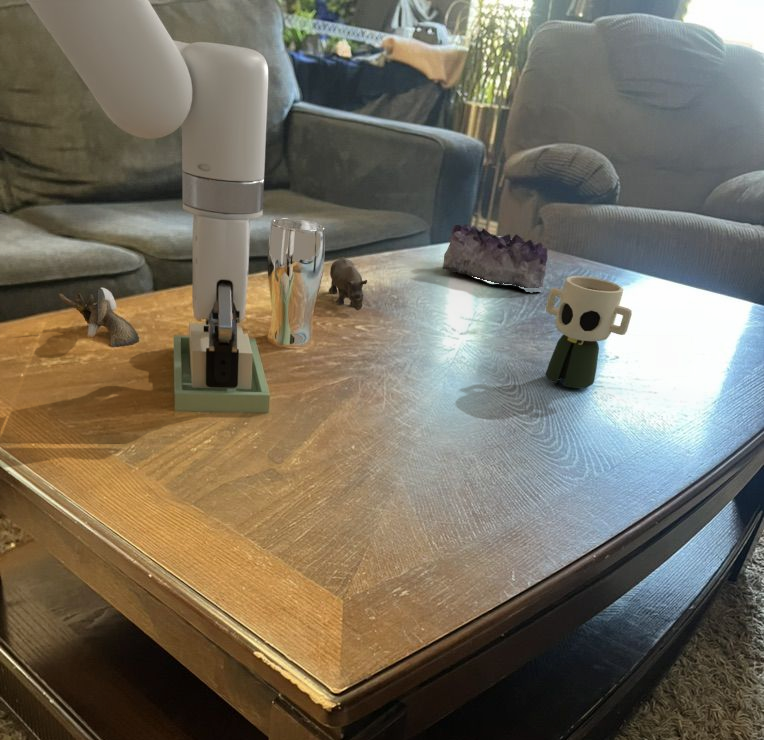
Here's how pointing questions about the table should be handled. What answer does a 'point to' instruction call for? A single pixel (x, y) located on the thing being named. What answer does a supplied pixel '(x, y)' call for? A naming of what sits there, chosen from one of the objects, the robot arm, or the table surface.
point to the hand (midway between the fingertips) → (220, 372)
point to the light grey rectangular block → (199, 360)
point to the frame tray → (213, 397)
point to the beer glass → (294, 279)
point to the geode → (495, 257)
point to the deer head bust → (104, 318)
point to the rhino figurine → (347, 282)
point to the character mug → (583, 327)
